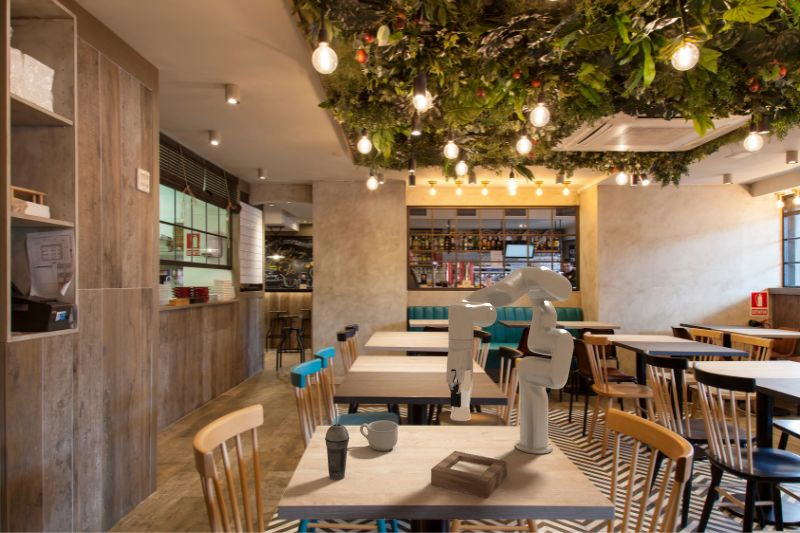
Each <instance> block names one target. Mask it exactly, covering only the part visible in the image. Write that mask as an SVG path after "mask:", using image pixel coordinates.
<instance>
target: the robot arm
mask: <svg viewBox="0 0 800 533" xmlns="http://www.w3.org/2000/svg"><path fill="white" fill-rule="evenodd" d="M525 294H526V297H527V298H528V300H529V303H530V305H531V308H532V317H531V319H532V320H531V322H530V328H529V333H528V336H527V348H528V350H529V351H530V352H532V353H534V354H538V355H544V356H551V358H544V357H539V356H532V355H531V356H525V357H523V358H520V360H519V361H518V363H517V365H516V375H517V380H518V386H519V439H517V441H515V445H514V446H515V448H516V449H517V450H519V451H521V452H524V453H529V454H535V455H537V454H539V455H541V454H548V453H551V452H552V451H553V448H554V446H553V444H552V443H551V442H549V396H548V393H547V391H546V388H549V389H553V390H559V389H562V388H564V387H565V385H566V384H567V381H568V379H569V378H568V377H569V373H570V369H571V364H572V358H573V352H574V339H573V336H572V334H571V333H570V332H569V331H568V330H566V329H563V328H556V327H557V321H558V314H557V311H556V308H555V306H554V305H553V303H552V302H566V301H567V300H569V299H570V298H571V296H572V294H573V286H572V283H571V281H570V280H569V279H568V278H567V277H566V276H564V275H562V274H560V273H558V272H556V271H555V270H553V269H551V268H548V267H546V266H520V267H517V268H516V269H514V270H512V271H511V272H510V273H509V274H508V275H506V276H505V277H503V278H502V279H501V280H499V281H497V282H496V283H493V284H491V285H488V286H486V287H483V288H480V289H478V290H474V291H473V292H471V293H469V294H468V295H465V296H464V297H463V298H462V299H460V300H459V301H458V302H457V303H452V304H450V305H449V306H448V312H447V313H448V317H447V318H448V321H447V322H448V325H447V326H448V327H447V328H448V330H447V331H448V345H447V346H448V352H447V359H446V360H447V361H446V377H445V378H446V380H445V381H446V383H447V385H448V389H449V393H451V396H450V406H451V408H452V407H459V408H460V407H461V394H460V389H461V384H462V383H463V381H464V376H465V370H470V369H472V379H473V378H474V357H473V356H474V355H473V351H474V327H481V328H487V327H491V326H492V325H493V324H495V322H496V320H497V318H498V317H497V316H498V312H497V309H500V308H501V309H502V308H504V307H509V306H512V305H514V304H515V303H516V302H517V301H518V300H520V298H522V297H523V296H524V295H525ZM456 377H457V380H458V383H456V382H454V381H455V378H456ZM454 385H458V387H457V388H456V386H454ZM471 402H472V397H471V398H470V403H471Z"/></svg>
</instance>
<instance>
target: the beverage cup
mask: <svg viewBox="0 0 800 533" xmlns="http://www.w3.org/2000/svg"><path fill="white" fill-rule="evenodd" d="M334 412H335V413H334V414H335V415H334V416H335V417H334V418H335V423H334V424H332V425H331V426H330V427H329V428H328V429H327V431H326V432H325V438H324V440H325V446H326V453H327V454H326V455H327V457H326V458H327V467H328V470H327V471H328V476H329V477H328V478H329V480H331V481H341V480H343V479H345V476H346V468H347V466H346V465H347V456H348V446H349V443H350V442H349V441H350V435H349V431H348V428H346V426H344V425H342V424H341V423H338V408H334Z"/></svg>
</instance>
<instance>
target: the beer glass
mask: <svg viewBox="0 0 800 533" xmlns="http://www.w3.org/2000/svg"><path fill="white" fill-rule="evenodd" d="M454 382H456V383H458V380H457V377H456V378H455V381H454ZM454 386H456V388H457V387H458V385H454ZM472 392H473V378H472V369H470V370H465V376H464V381H463V383H462V384H461V389H460V394H461V407H460V408H459V407H452V406H451V412H450V419H451V420H452V421H456V422H468V421H470V420H472V417H471V411H470V410H471V409H470V406H471V405H470V404H471V402H470V398H471V399H472ZM449 393H450V392H449ZM449 396H450V397H451V393H450V394H449Z"/></svg>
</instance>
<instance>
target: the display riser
mask: <svg viewBox="0 0 800 533" xmlns="http://www.w3.org/2000/svg"><path fill="white" fill-rule="evenodd" d="M507 477H508V461H507V460H503V459H499V458H495V457H494V458H493V457H489V456H482V455H478V454H472V453H468V452H463V451H457V450H454V451H452V452H451V453H449V455H447V456H446V457H445V458H443V459H442V460H441V461H439V462H438V463H437V464H436V465H434V466H433V467H431V469H430V485H432V486H435V487H439V488H443V489H448V490H452V491H456V492H461V493H464V494H469V495H473V496H477V497H481V498H485V499H488V498H490V496H491V495H492V494H493V492H494V491H495V490H496V489H497V488H498V487H499V486H500V485H501V484H502V483H503V481H504V480H505V479H506V478H507Z"/></svg>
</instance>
